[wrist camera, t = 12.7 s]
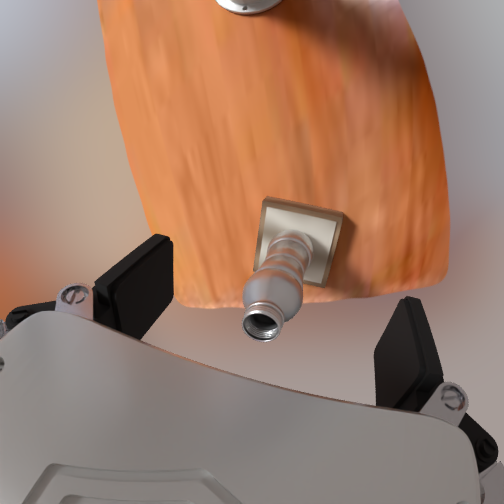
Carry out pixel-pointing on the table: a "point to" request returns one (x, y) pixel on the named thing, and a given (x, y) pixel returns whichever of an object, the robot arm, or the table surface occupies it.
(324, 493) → the robot arm
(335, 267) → the table surface
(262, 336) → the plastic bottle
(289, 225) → the plinth
